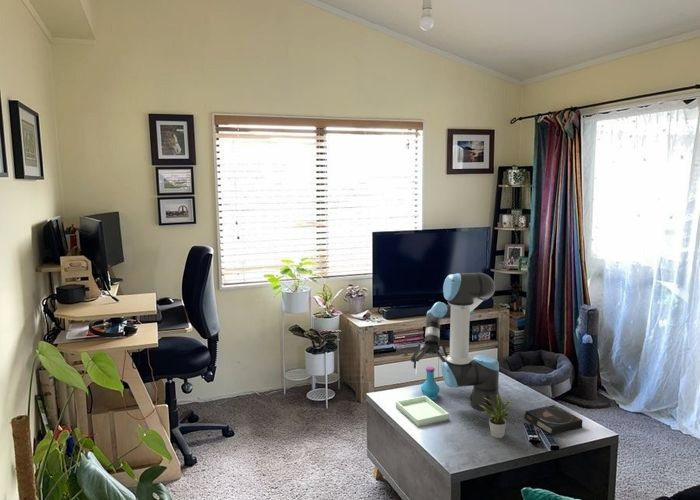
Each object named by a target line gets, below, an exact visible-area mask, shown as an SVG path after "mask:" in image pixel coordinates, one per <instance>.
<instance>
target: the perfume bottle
mask: <svg viewBox="0 0 700 500" xmlns="http://www.w3.org/2000/svg"><path fill="white" fill-rule="evenodd" d="M425 371H426V380H424V382H423V383H422V385H421V386H420V390H421V393H422V396H427V397H428V398H429V399H431V400H432V401H433V400H436V399H437V398H438V396H439V395H438V394H439V393H440V386H439V385H438V383H437V382H436V381H435V373H434V372H435V371H436V369H435V368H434V367H433V366H427V367H425Z"/></svg>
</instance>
